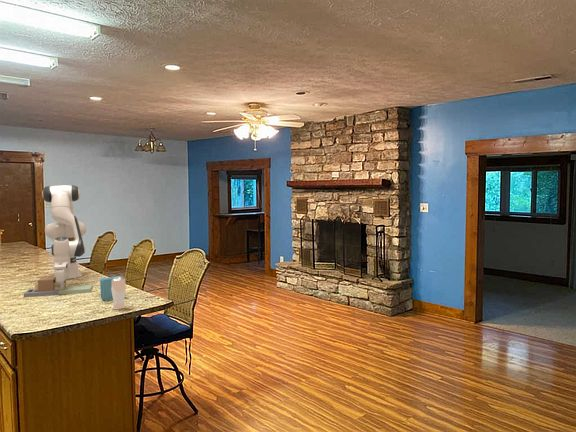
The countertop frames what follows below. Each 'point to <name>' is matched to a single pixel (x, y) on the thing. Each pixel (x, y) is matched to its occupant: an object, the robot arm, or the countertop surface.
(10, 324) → the countertop surface
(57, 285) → the birch bar
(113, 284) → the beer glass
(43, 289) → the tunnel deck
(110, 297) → the data package
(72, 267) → the robot arm
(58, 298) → the countertop surface
